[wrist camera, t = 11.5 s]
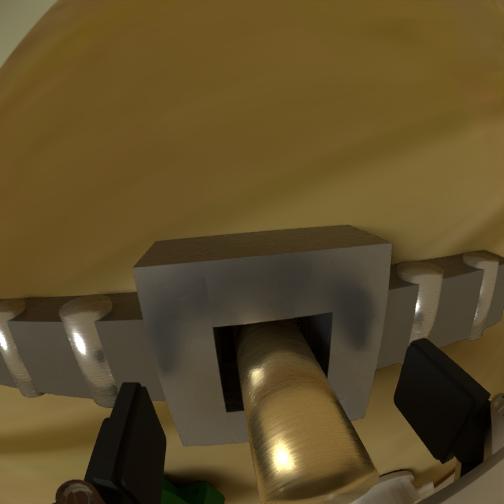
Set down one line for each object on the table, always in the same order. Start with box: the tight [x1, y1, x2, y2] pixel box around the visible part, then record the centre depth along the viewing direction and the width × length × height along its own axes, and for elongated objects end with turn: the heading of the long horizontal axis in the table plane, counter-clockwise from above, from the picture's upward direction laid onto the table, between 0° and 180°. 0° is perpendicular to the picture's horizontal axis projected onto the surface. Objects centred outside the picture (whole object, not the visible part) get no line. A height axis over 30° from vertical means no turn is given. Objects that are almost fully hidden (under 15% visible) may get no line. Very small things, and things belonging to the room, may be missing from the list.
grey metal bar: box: [0, 225, 504, 446], centre depth 13 cm, size 33×9×4 cm, turn 94°
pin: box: [232, 318, 379, 504], centre depth 10 cm, size 3×3×10 cm
